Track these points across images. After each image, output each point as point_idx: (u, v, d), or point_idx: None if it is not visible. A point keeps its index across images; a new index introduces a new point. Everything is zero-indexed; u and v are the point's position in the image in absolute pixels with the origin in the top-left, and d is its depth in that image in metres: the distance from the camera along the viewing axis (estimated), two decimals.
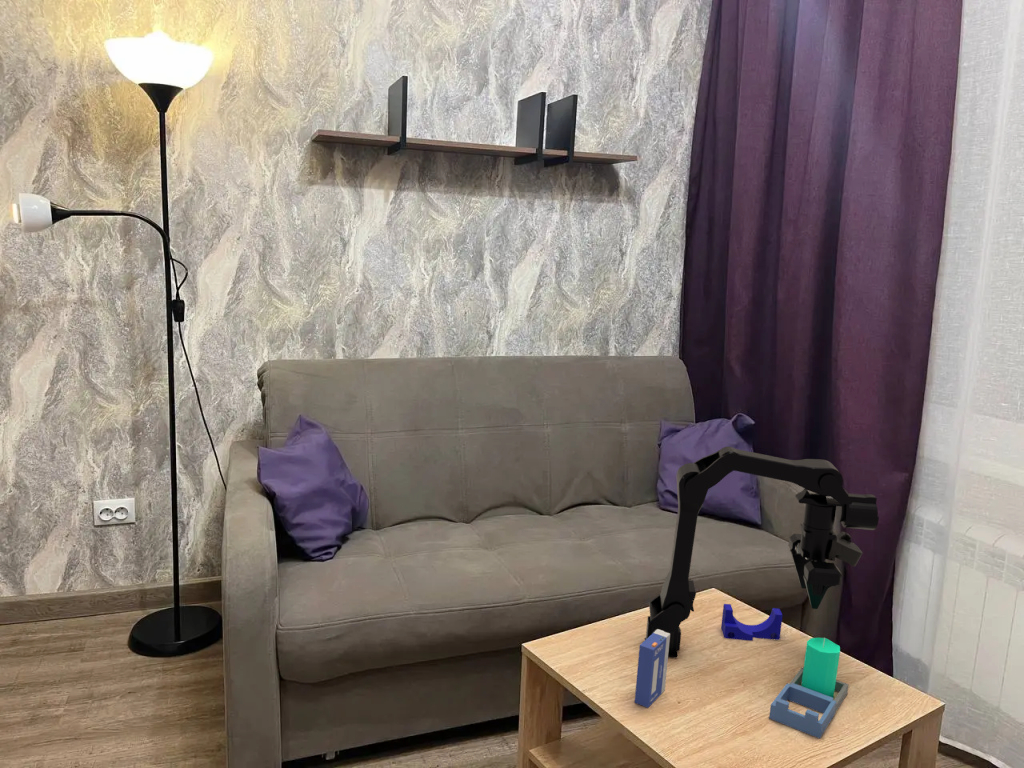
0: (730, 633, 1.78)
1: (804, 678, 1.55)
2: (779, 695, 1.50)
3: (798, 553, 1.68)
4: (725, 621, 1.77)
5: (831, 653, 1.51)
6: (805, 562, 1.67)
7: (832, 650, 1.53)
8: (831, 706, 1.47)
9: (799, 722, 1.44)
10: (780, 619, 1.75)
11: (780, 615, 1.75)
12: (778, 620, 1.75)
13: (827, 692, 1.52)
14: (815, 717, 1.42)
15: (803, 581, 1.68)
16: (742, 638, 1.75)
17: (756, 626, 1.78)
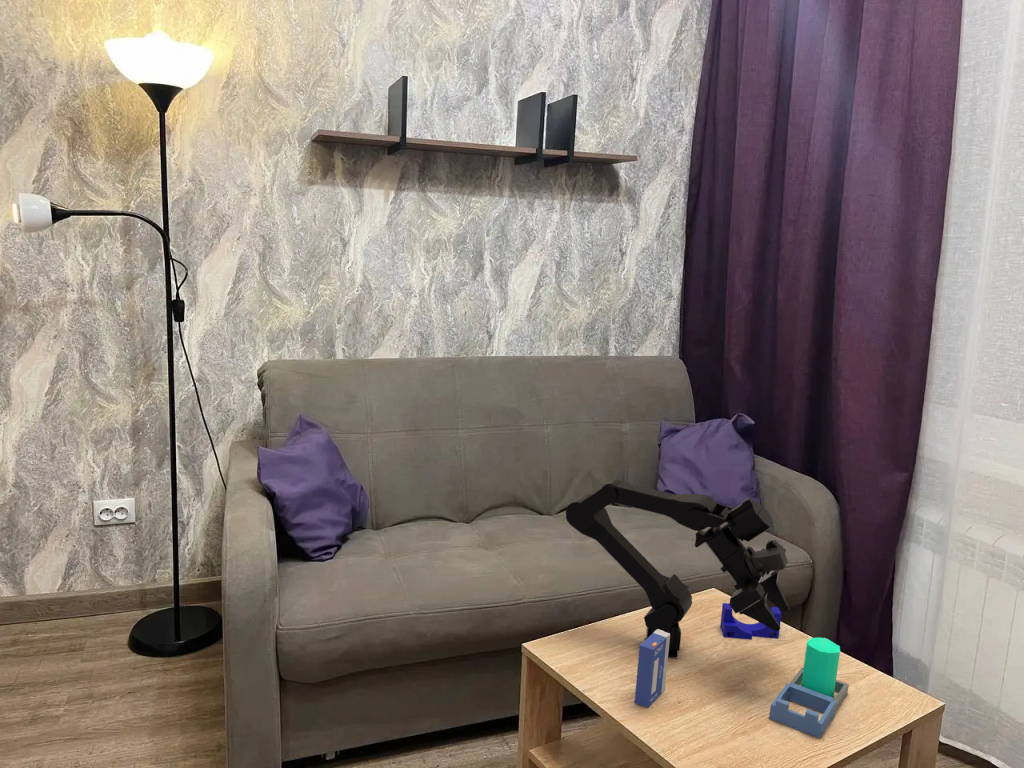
0: (729, 632, 1.78)
1: (804, 678, 1.55)
2: (779, 695, 1.50)
3: None
4: (724, 620, 1.77)
5: (831, 653, 1.51)
6: (768, 587, 1.62)
7: (832, 650, 1.53)
8: (831, 706, 1.47)
9: (799, 722, 1.44)
10: (779, 618, 1.76)
11: (779, 614, 1.76)
12: (777, 619, 1.76)
13: (827, 692, 1.52)
14: (815, 717, 1.42)
15: (780, 605, 1.61)
16: (742, 637, 1.76)
17: (755, 625, 1.79)
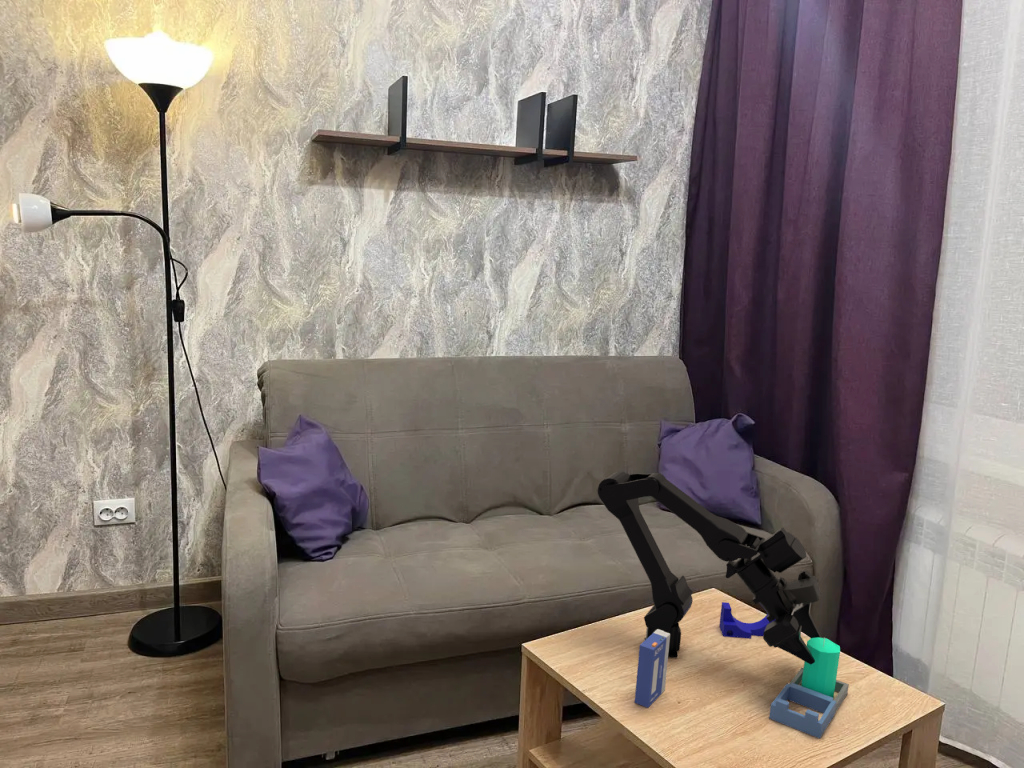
0: (728, 631, 1.78)
1: (804, 678, 1.55)
2: (779, 695, 1.50)
3: None
4: (724, 619, 1.77)
5: (831, 653, 1.51)
6: (800, 618, 1.60)
7: (832, 650, 1.53)
8: (831, 706, 1.47)
9: (799, 722, 1.44)
10: None
11: None
12: None
13: (827, 691, 1.52)
14: (815, 717, 1.42)
15: (813, 636, 1.59)
16: (741, 636, 1.76)
17: (754, 624, 1.79)
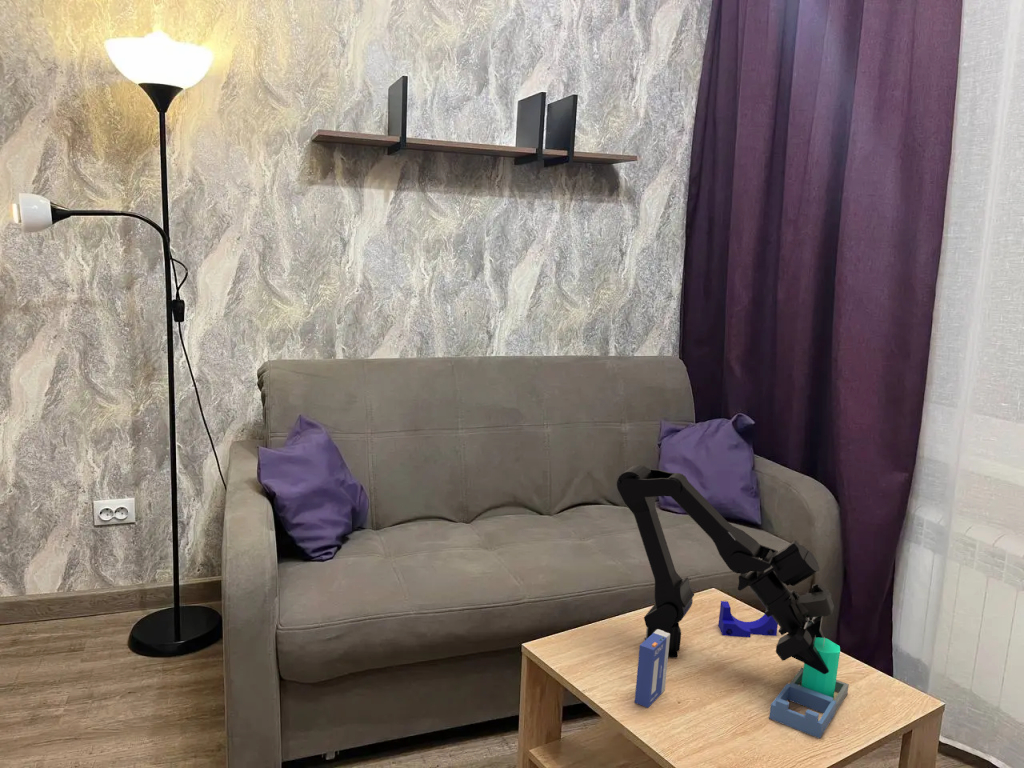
0: (728, 630, 1.79)
1: (804, 678, 1.55)
2: (779, 695, 1.50)
3: None
4: (723, 618, 1.78)
5: (831, 653, 1.51)
6: (811, 634, 1.58)
7: (832, 650, 1.53)
8: (831, 706, 1.47)
9: (799, 722, 1.44)
10: None
11: None
12: None
13: (827, 691, 1.52)
14: (815, 717, 1.42)
15: None
16: (740, 635, 1.77)
17: (753, 623, 1.80)
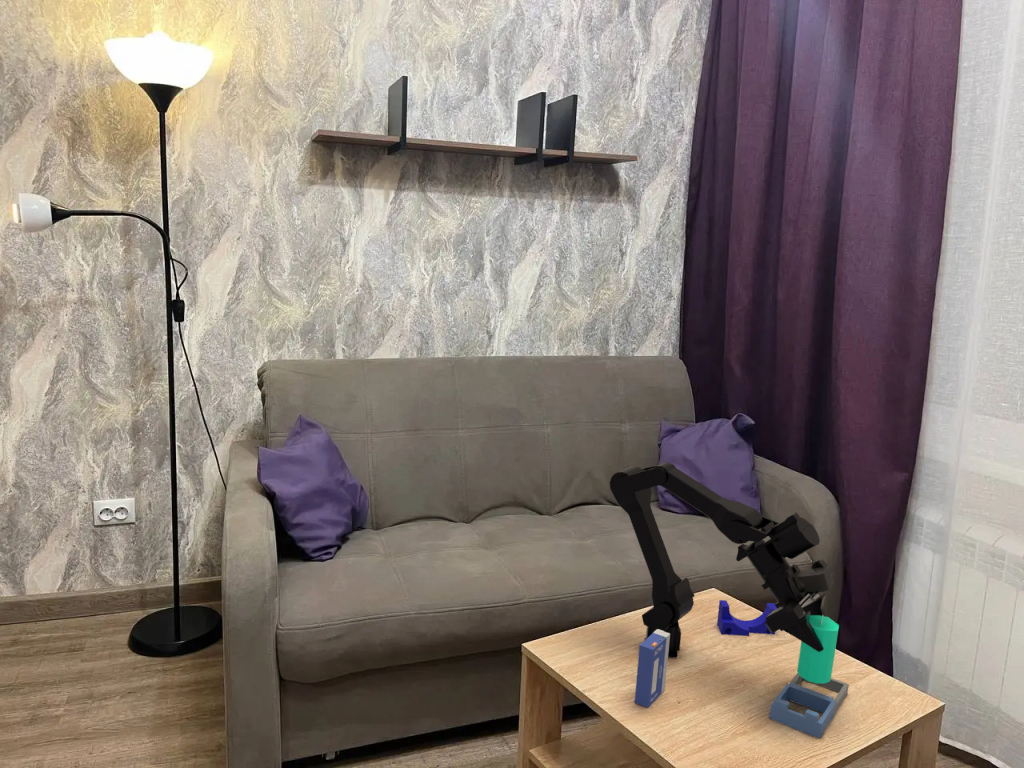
0: (726, 629, 1.79)
1: (800, 655, 1.50)
2: (779, 695, 1.50)
3: (801, 607, 1.54)
4: (722, 617, 1.78)
5: (826, 631, 1.45)
6: (812, 612, 1.52)
7: (830, 628, 1.47)
8: (831, 706, 1.47)
9: (799, 722, 1.44)
10: None
11: None
12: None
13: (822, 671, 1.47)
14: (815, 717, 1.42)
15: None
16: (739, 633, 1.77)
17: (751, 621, 1.81)
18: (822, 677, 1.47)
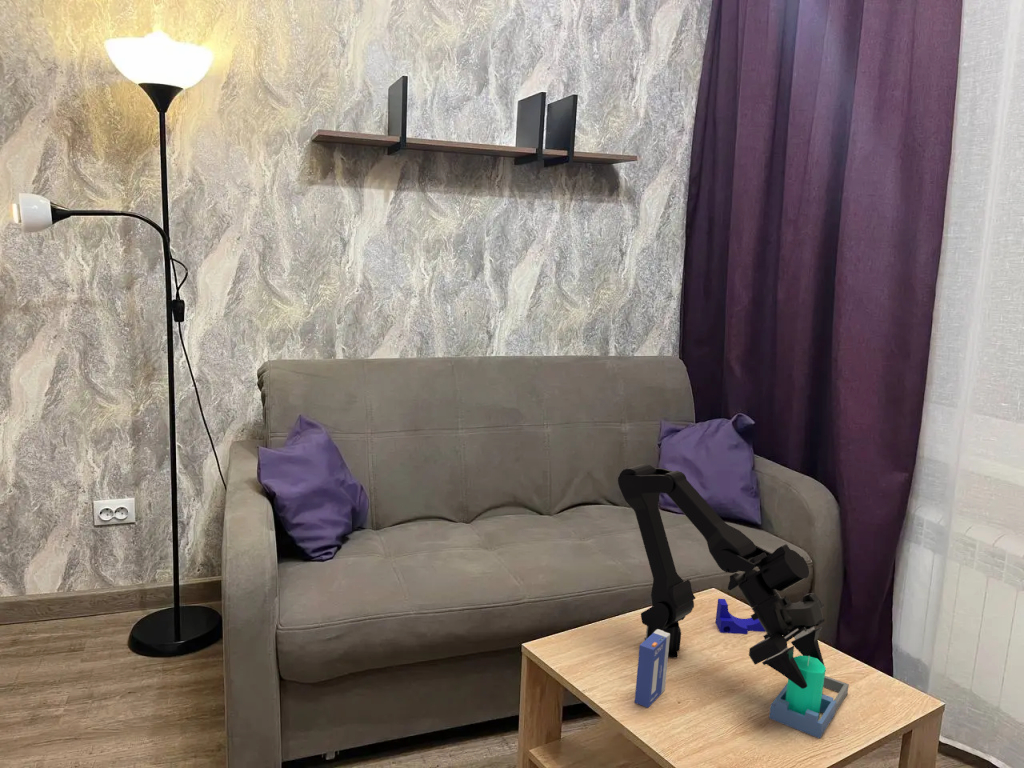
0: (725, 627, 1.80)
1: (786, 695, 1.49)
2: (779, 695, 1.50)
3: (795, 638, 1.53)
4: (720, 616, 1.79)
5: (810, 672, 1.44)
6: (805, 644, 1.51)
7: (815, 670, 1.45)
8: (831, 706, 1.47)
9: (799, 722, 1.44)
10: None
11: None
12: None
13: None
14: (815, 717, 1.42)
15: None
16: (738, 632, 1.78)
17: (749, 619, 1.81)
18: None
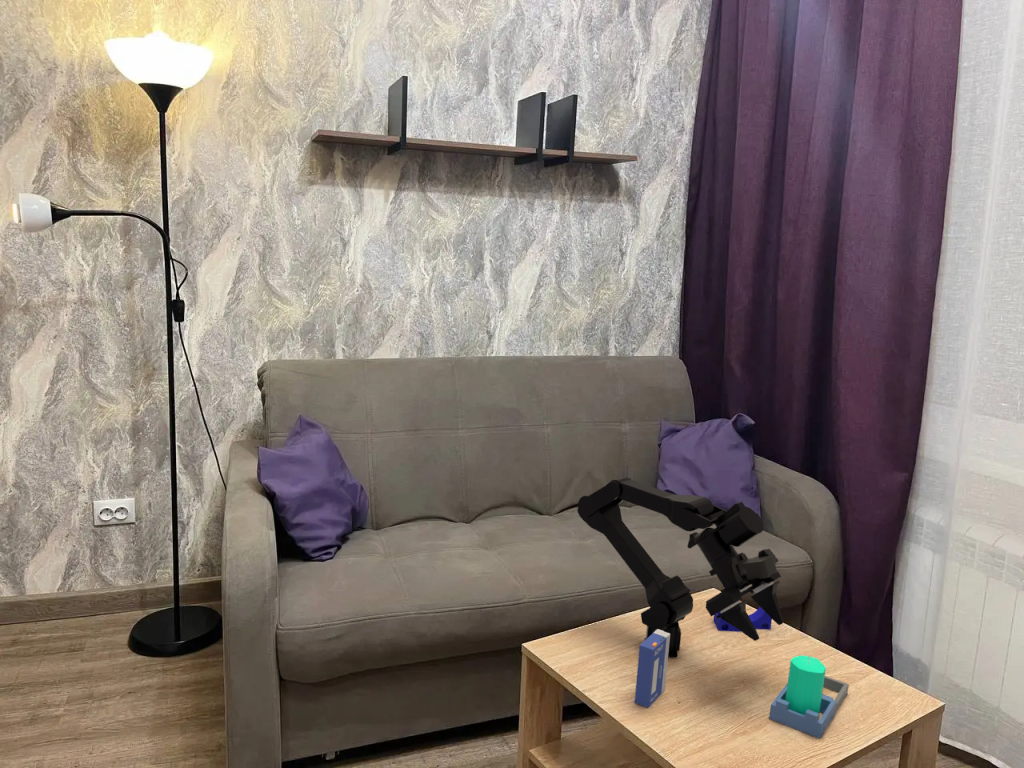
0: (723, 625, 1.81)
1: (786, 695, 1.49)
2: (779, 695, 1.50)
3: (755, 592, 1.59)
4: (719, 614, 1.80)
5: (810, 672, 1.44)
6: (764, 598, 1.57)
7: (815, 670, 1.45)
8: (831, 706, 1.47)
9: (799, 722, 1.44)
10: None
11: None
12: None
13: None
14: (815, 717, 1.42)
15: (775, 617, 1.55)
16: (736, 630, 1.79)
17: None
18: None
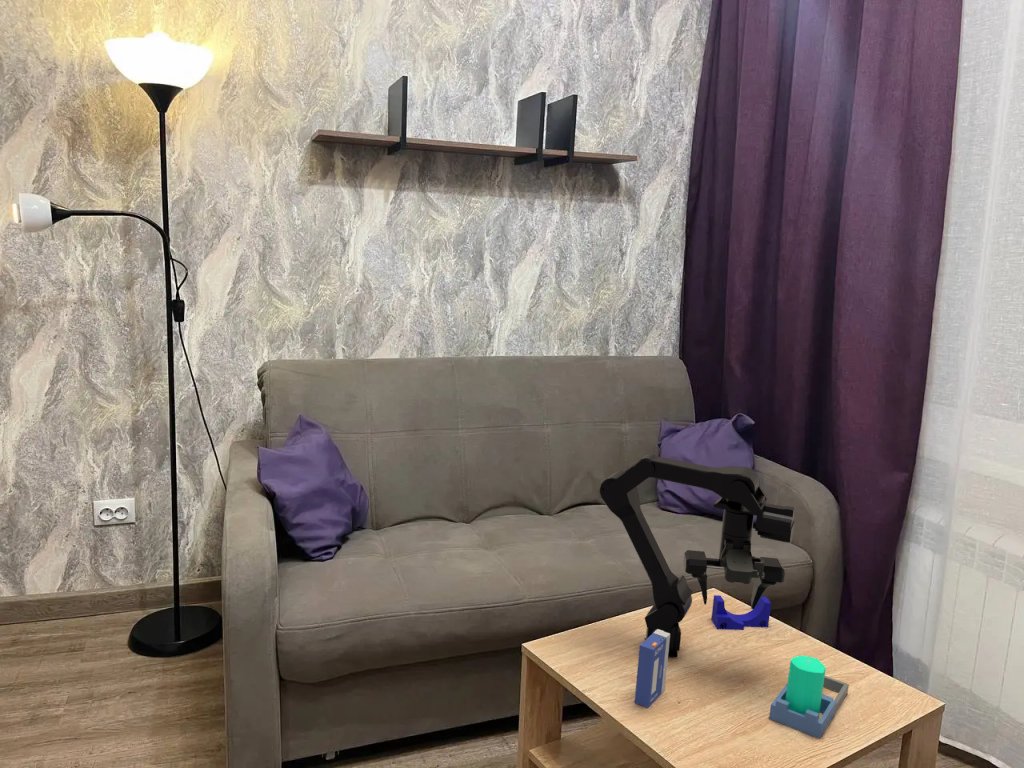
0: (721, 624, 1.82)
1: (786, 695, 1.49)
2: (779, 695, 1.50)
3: None
4: (717, 612, 1.80)
5: (809, 672, 1.44)
6: (756, 582, 1.61)
7: (815, 670, 1.45)
8: (831, 706, 1.47)
9: (799, 722, 1.44)
10: (769, 607, 1.81)
11: (769, 603, 1.81)
12: (767, 608, 1.81)
13: None
14: (815, 717, 1.42)
15: (751, 600, 1.61)
16: (734, 628, 1.80)
17: (745, 615, 1.83)
18: None
